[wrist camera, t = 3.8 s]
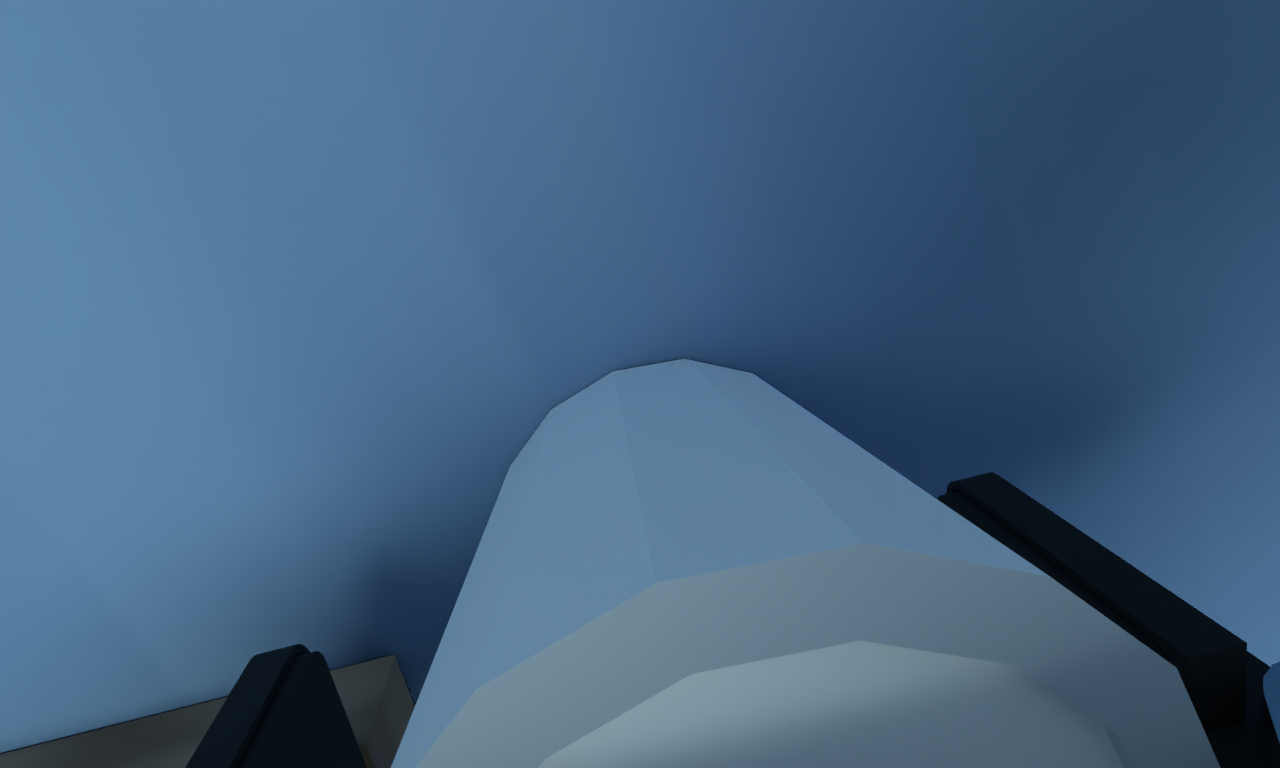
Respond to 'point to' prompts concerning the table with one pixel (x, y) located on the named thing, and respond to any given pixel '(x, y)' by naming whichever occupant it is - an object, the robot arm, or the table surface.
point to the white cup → (766, 610)
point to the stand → (163, 744)
